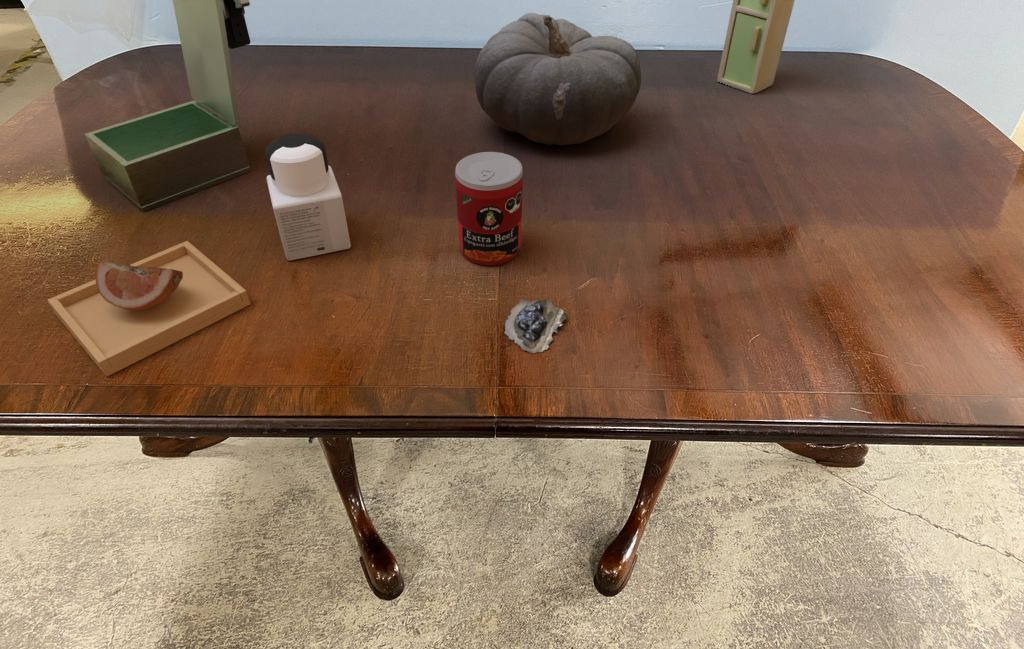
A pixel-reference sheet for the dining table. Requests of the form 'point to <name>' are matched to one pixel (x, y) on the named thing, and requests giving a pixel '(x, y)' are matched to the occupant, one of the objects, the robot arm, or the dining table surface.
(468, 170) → the canned food
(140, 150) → the bin
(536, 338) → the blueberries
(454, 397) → the dining table surface
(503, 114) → the gourd
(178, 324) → the tray
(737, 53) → the toy refrigerator
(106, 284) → the fruit slice
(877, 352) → the dining table surface
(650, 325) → the dining table surface
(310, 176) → the container
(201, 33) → the bin lid
